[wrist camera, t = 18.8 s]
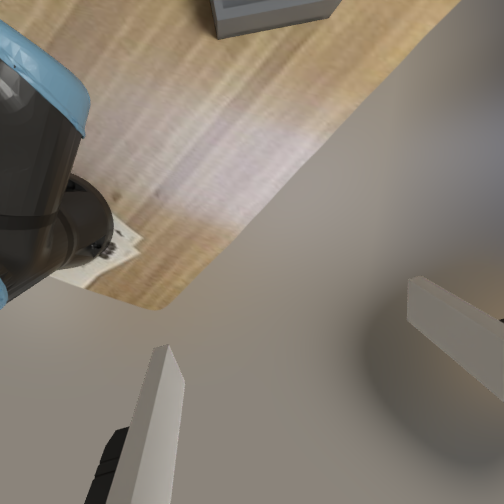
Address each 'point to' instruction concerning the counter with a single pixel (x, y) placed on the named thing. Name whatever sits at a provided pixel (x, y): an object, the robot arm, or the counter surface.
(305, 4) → the tray
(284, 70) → the counter surface
